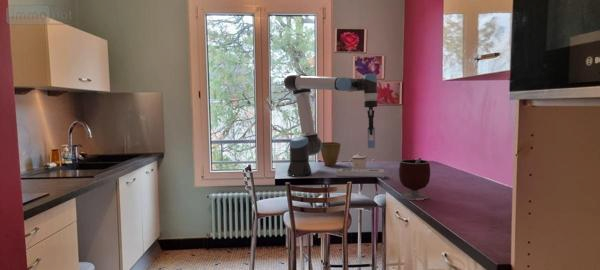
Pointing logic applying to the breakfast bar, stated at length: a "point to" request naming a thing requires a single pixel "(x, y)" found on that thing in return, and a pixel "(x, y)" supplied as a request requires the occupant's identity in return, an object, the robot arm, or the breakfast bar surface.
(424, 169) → the mate gourd
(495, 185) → the breakfast bar surface
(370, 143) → the plug
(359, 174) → the panel
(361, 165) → the teacup with lid
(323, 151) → the plant pot
